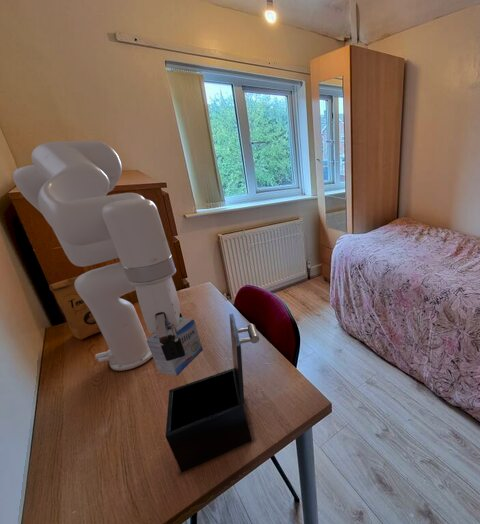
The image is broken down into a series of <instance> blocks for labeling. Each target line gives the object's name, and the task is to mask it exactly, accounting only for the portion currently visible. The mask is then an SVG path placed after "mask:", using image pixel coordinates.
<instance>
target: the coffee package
mask: <svg viewBox="0 0 480 524" xmlns="http://www.w3.org/2000/svg"><path fill="white" fill-rule="evenodd" d="M79 276H80V275H77V276H74V277H71V278H67V279H63V280H61V281H57V282H55V283H52V284H49V285H48V286H49V290H50V291H51V292H53V295H54V296H55V300H56V302H57V304H58V306H59V307H60V309H61V310H62V313H63V315H64V317H65V320H66V322H67V325H68V328H69V330H70V332H71V333H72V336H73V337H75V338H77V340H84V339H86V338H88V337H90V336H93V335H95V334H98V333H101V331H100V328H99V326H98V324H97V322H96V320H95V318H94V316H93V315H92V313H91V311H90V309H89V308H88V306H87V305H86V303H85V302H84V301H83V299H82V298H81V297H80V296H79V294H78V293H77V291H76V289H75V286H74V283H75V280H76V279H77V278H78V277H79Z"/></svg>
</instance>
